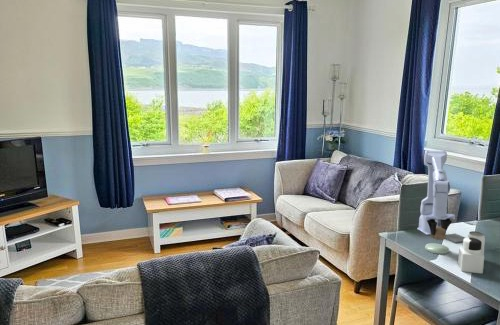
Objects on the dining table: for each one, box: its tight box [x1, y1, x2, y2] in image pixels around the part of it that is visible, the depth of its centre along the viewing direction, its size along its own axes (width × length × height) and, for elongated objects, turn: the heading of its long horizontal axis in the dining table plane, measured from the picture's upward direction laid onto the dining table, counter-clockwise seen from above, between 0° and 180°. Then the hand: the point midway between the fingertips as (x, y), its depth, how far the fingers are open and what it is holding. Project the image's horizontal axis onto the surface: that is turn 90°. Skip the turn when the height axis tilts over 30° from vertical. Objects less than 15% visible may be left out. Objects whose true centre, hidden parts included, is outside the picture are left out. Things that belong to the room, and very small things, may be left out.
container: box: [457, 237, 485, 274], centre depth 154 cm, size 8×8×13 cm
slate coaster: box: [444, 233, 466, 244], centre depth 187 cm, size 9×9×1 cm
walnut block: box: [430, 226, 447, 241], centre depth 173 cm, size 4×4×4 cm
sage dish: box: [424, 242, 450, 255], centre depth 175 cm, size 10×10×1 cm
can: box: [467, 230, 486, 256], centre depth 163 cm, size 6×6×12 cm
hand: (437, 234), depth 173 cm, fingers closed on walnut block, 4 cm apart
